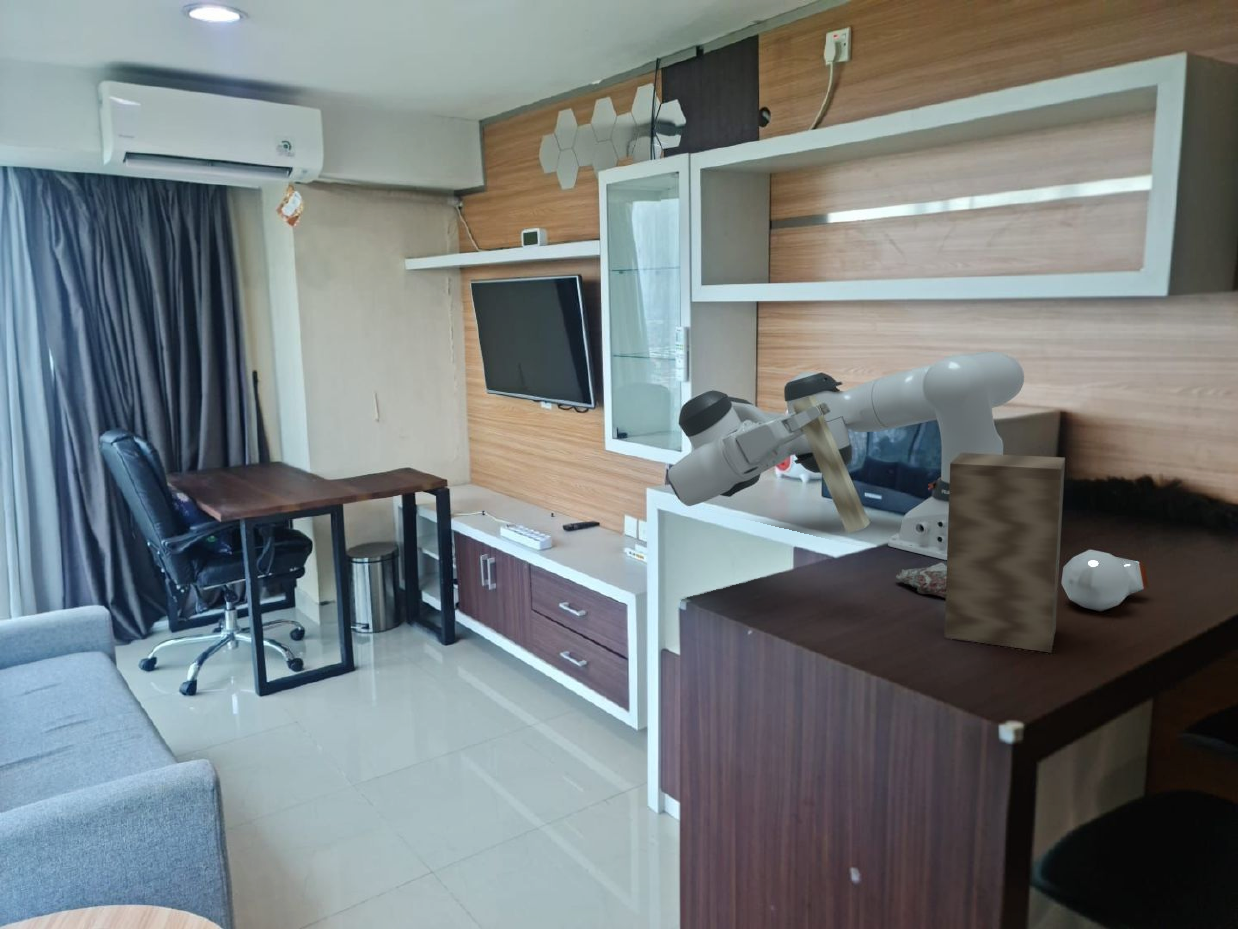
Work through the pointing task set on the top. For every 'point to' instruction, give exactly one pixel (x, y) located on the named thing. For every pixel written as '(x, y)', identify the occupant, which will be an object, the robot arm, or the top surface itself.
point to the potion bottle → (1102, 579)
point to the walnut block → (1004, 549)
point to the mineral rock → (926, 579)
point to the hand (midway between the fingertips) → (823, 408)
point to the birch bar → (833, 469)
